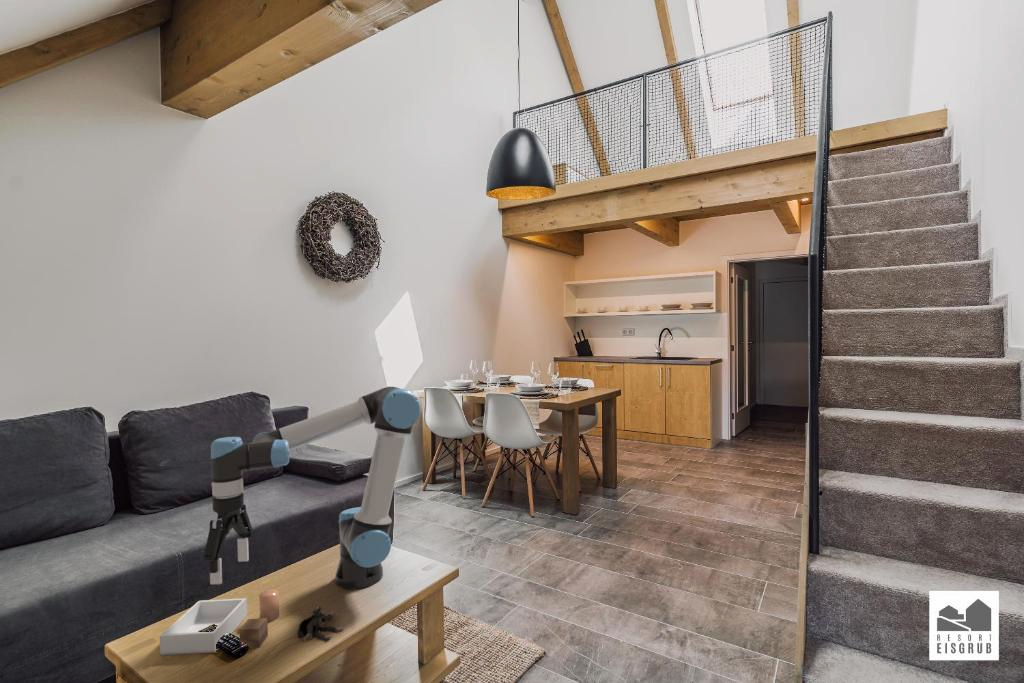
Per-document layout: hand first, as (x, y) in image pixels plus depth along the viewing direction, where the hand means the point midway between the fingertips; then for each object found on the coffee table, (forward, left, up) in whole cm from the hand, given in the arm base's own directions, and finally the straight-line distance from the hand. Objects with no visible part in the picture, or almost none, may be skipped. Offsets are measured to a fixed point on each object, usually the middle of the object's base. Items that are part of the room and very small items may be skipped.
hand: (230, 571), depth 141 cm
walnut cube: (-8, +6, -17) cm, 19 cm away
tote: (+7, +1, -16) cm, 18 cm away
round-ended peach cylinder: (-7, -6, -16) cm, 19 cm away
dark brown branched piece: (-23, +1, -17) cm, 29 cm away
